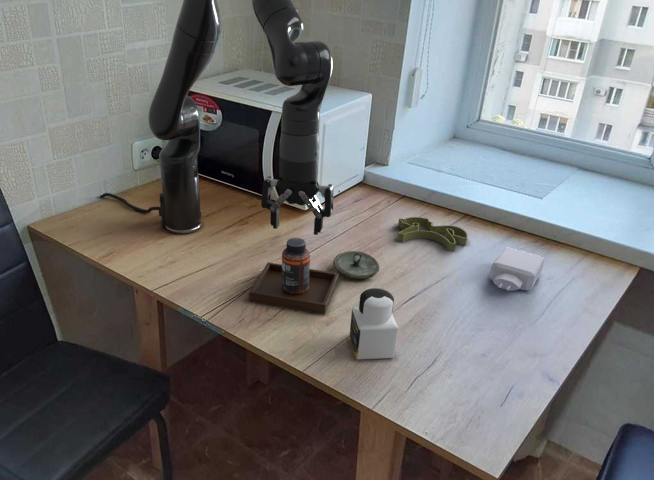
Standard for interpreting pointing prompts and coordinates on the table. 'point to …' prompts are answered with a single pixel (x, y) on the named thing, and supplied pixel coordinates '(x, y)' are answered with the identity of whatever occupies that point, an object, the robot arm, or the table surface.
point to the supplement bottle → (295, 266)
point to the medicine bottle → (374, 325)
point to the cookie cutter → (431, 232)
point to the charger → (516, 269)
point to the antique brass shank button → (356, 265)
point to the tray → (311, 300)
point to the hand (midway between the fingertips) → (296, 230)
